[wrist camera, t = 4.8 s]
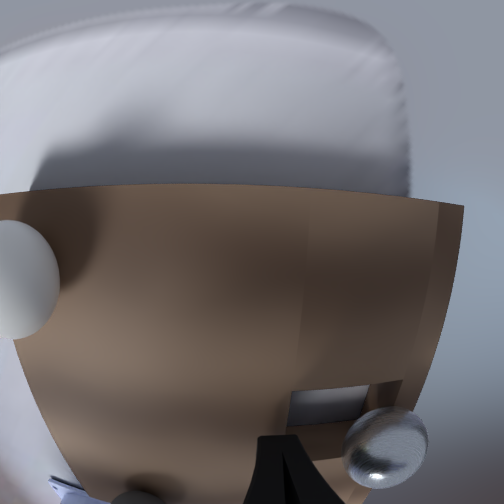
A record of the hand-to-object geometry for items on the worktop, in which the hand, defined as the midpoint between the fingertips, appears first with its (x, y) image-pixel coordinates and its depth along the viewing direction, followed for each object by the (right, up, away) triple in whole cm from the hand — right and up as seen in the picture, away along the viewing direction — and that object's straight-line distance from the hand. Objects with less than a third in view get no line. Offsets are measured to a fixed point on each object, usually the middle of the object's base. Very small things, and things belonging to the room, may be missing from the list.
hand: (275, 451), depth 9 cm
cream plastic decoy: (-8, +6, -2) cm, 10 cm away
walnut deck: (-2, +1, +3) cm, 4 cm away
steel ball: (+4, 0, 0) cm, 4 cm away
